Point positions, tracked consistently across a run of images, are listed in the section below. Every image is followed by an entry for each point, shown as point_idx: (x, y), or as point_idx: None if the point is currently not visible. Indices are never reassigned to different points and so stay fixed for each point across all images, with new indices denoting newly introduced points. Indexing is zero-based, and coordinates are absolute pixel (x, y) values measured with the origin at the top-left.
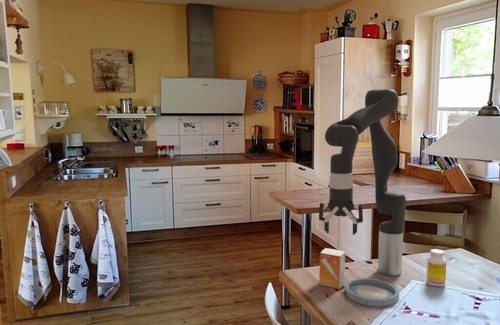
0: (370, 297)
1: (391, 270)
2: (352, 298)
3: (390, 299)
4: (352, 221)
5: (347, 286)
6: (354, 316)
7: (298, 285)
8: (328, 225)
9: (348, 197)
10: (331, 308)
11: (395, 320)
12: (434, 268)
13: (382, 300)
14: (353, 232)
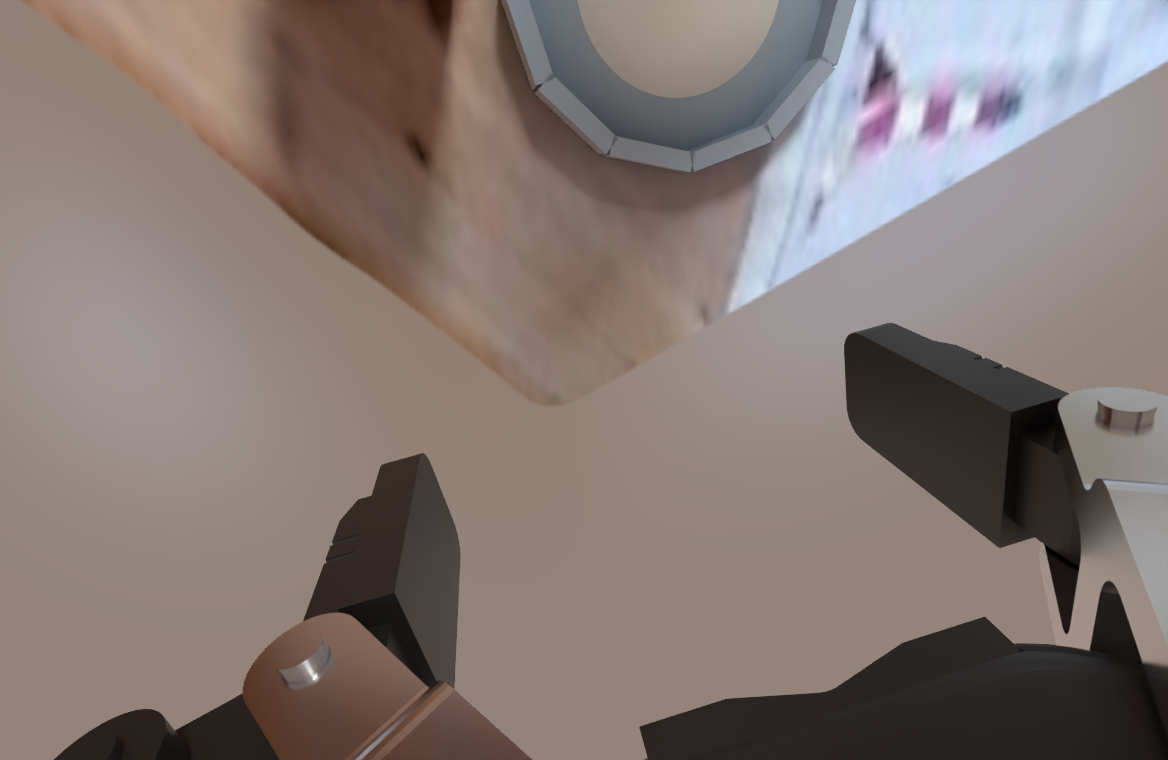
0: (686, 71)
1: None
2: (586, 141)
3: (814, 90)
4: (1052, 605)
5: (525, 23)
6: (639, 323)
7: (149, 82)
8: (454, 661)
9: None
10: (507, 303)
11: (822, 259)
12: None
13: (772, 137)
14: (889, 448)
